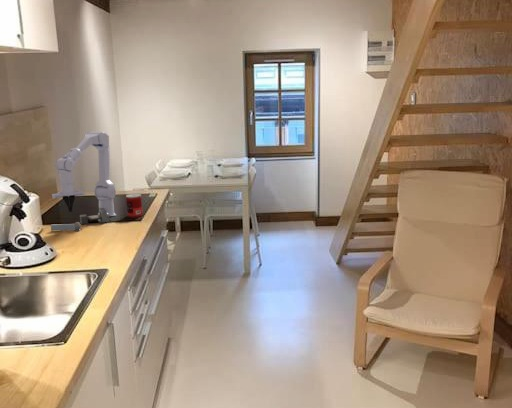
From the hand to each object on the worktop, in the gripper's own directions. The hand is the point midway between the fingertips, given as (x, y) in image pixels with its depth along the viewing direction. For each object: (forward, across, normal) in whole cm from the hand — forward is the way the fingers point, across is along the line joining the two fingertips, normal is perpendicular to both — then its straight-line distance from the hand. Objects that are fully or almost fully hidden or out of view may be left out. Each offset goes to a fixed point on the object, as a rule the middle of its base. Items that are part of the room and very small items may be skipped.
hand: (70, 211), depth 251 cm
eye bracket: (+8, +16, +5) cm, 18 cm away
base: (+8, +2, -6) cm, 10 cm away
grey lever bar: (+8, -3, -3) cm, 9 cm away
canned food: (+9, +32, +8) cm, 34 cm away
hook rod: (+8, +12, +5) cm, 15 cm away
